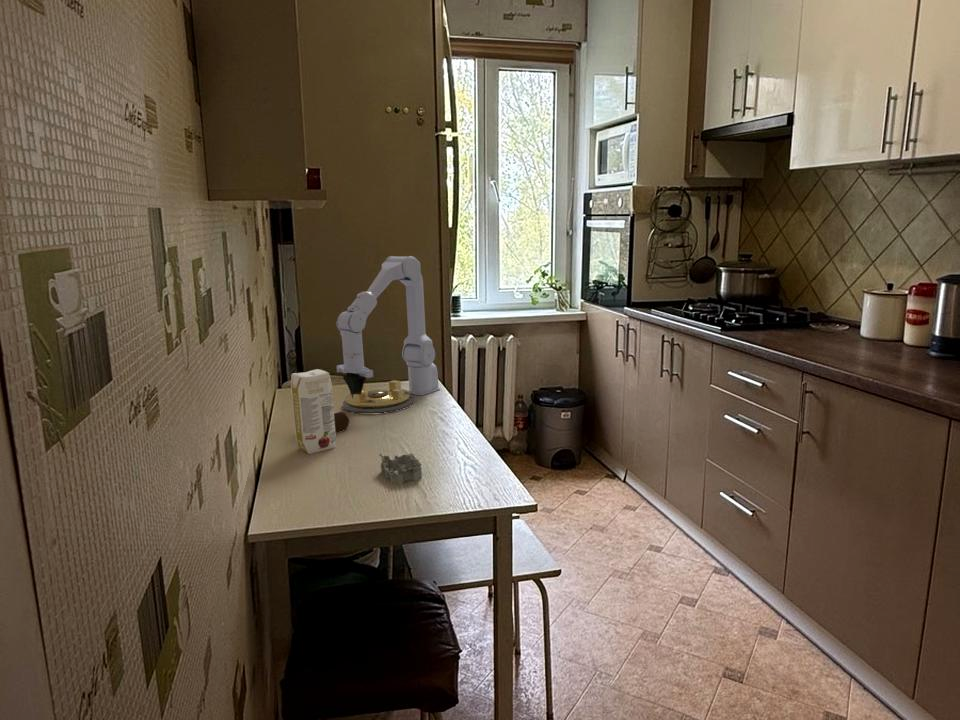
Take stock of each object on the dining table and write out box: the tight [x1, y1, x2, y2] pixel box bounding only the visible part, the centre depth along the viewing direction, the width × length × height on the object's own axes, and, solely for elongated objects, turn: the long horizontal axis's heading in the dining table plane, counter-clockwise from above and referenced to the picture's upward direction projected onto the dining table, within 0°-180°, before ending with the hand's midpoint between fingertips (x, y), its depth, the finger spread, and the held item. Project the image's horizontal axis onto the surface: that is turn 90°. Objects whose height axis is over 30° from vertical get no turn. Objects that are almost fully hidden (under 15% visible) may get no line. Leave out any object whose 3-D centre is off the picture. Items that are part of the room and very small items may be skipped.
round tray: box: [345, 379, 411, 408], centre depth 201 cm, size 19×19×4 cm
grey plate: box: [342, 394, 414, 414], centre depth 202 cm, size 21×21×1 cm
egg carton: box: [379, 453, 423, 485], centre depth 144 cm, size 11×8×4 cm
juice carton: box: [290, 368, 336, 455], centre depth 161 cm, size 8×9×19 cm
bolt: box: [334, 411, 350, 433], centre depth 181 cm, size 6×5×15 cm
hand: (356, 398), depth 195 cm, fingers closed, pressing on round tray
